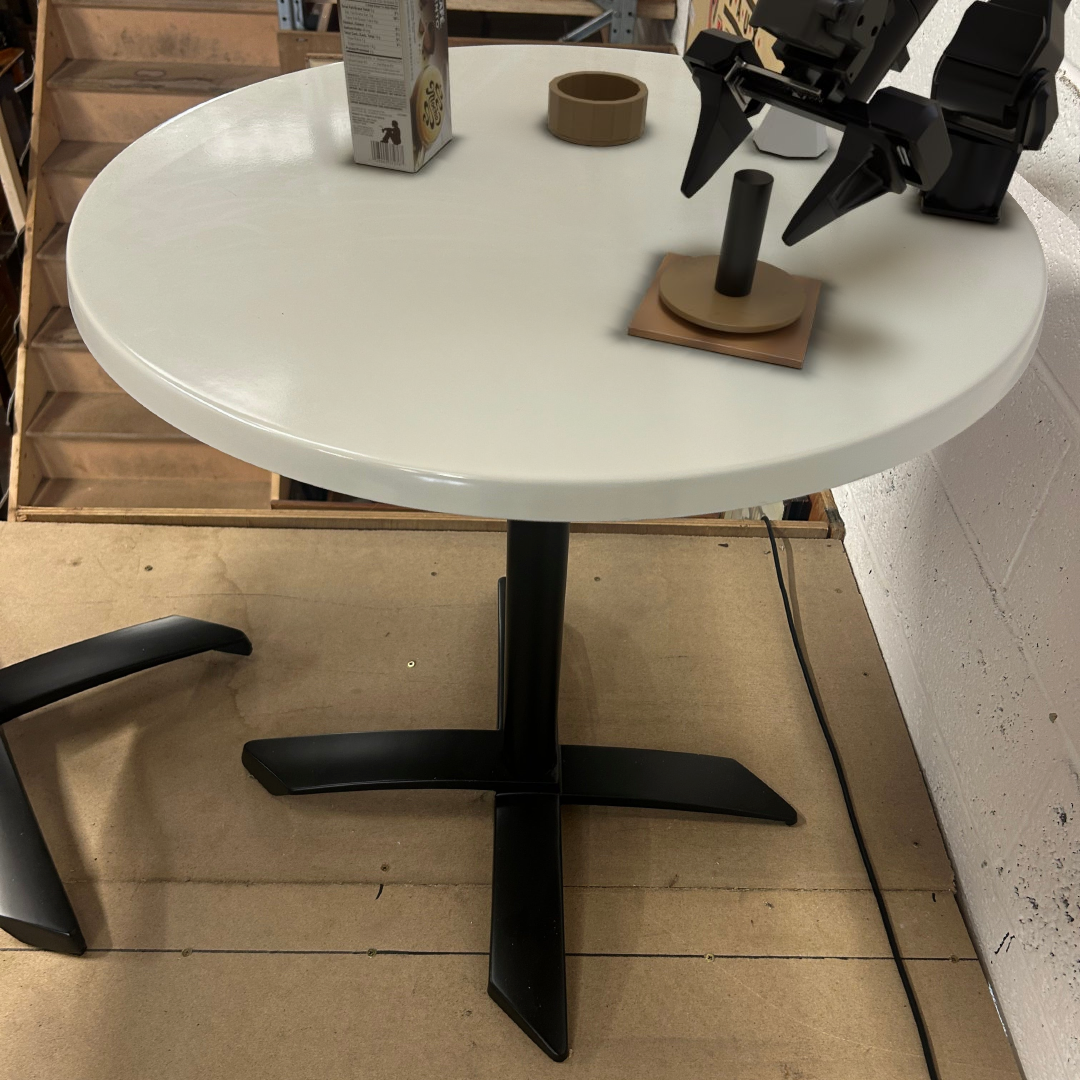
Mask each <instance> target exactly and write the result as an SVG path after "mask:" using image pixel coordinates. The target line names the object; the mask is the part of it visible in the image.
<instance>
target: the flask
mask: <svg viewBox="0 0 1080 1080" xmlns="http://www.w3.org/2000/svg"><path fill="white" fill-rule="evenodd" d="M827 134H828V133H827V126H826V125H823V124H820V123H817V122H815V121H812V120H809V119H807V118H804V117H801V116H799V115H796V114H793V113H791V112H788V111H785V110H783V109H780V108H777V107H775V106H772V105H770V107H769V109H768V110H767V112H766V114H765V116H764V118H763V120H762V121H761V123H760V124H759V127H758V129H757V130H756V132H755V134H754V135H753V141H754V142H755V144H756V145H757V147H758V149H759V150H761V151H764V152H768V153H772V154H775V155H776V154H777V155H780V156H783V157H790V158H791V157H794V158H795V157H797V158H798V157H800V158H801V157H803V158H818V157H819V156H820V155H821V154H822V153H824V152H825V151H826V150H827V149H828V148H829V147H828V145H829V144H828V135H827Z"/></svg>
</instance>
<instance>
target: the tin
mask: <svg viewBox="0 0 1080 1080" xmlns="http://www.w3.org/2000/svg"><path fill="white" fill-rule="evenodd" d="M547 95H548V96H547V128H548V131H549V132H550V133H551V134H552V135H553V136H555V137H557V138H558V139H560V140H563V141H565V142H569V143H573V144H577V145H583V146H591V147H611V146H619V145H625V144H629V143H631V142H634V141H636V140H638V139H639V138H640V137H642V136H643V133H644V129H645V127H646V120H647V119H646V118H647V109H648V108H647V107H648V100H649V88H648V85H647V84H646V83H645V82H643V81H641V79H638V78H637V77H634V76H631V75H626V74H623V73H619V72H613V71H605V70H603V71H602V70H580V71H573V72H572V71H571V72H567V73H563V74H561V75H558V76H555V77H554V78H552V79H551V80H550V81H549V83H548V93H547Z"/></svg>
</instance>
